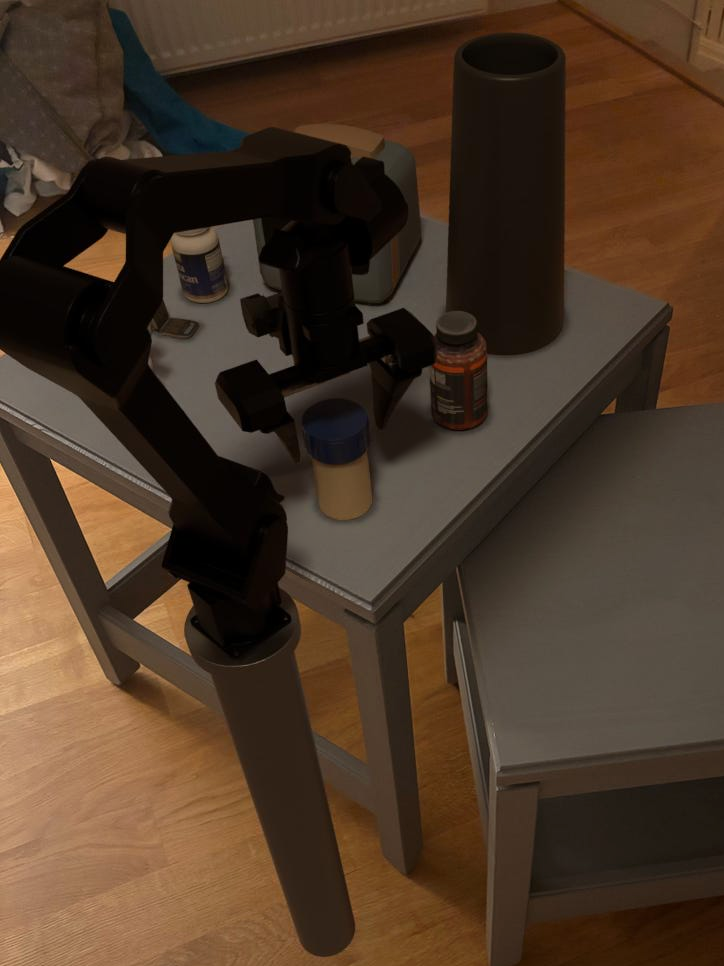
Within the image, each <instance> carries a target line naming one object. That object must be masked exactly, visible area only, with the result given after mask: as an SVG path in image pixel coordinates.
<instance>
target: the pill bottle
mask: <svg viewBox="0 0 724 966" xmlns="http://www.w3.org/2000/svg"><path fill="white" fill-rule="evenodd" d="M170 246H171V250H172V255H173V258H174V262H175V266H176V270H177V274H178V278H179V281H180V286H181V290H182V293H183V295H184V297H185V298H186V299H188V300H189V301H191V302H194V303H199V304H209V303H213V302H216V301H218V300H220V299H222V298H223V297H225V296H226V295H227V293H228V291H229V281H228V276H227V272H226V267H225V261H224V257H223V252H222V247H221V243H220V239H219V235H218V232H217V231H216V229H215V228H214V227H207V228H201V229H195V230H190V231H184V232H178V233H174V234H173V236H172V237H171V239H170Z"/></svg>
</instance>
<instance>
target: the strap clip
mask: <svg viewBox="0 0 724 966" xmlns="http://www.w3.org/2000/svg"><path fill="white" fill-rule="evenodd" d="M169 317H170V314H169V312H168V308H167V306H166V303H165V300H164V298H163V299H162V303H161V305H160V306H159V308H158V310H157V312H156V314H155V315H154V317H153V319H152V321H151V322H150V326H151V332H153V331H155V330H158V331H159V332H160V333H161V334H162V336H167V337H171V338H178V339H187V338H190V337H192V336H193V334H194V333H195V331H197V328H199V325H200V324H199V322H197V321H196V320H191V319H184V318H177V317H170V318H169ZM188 326H192V327H191V328H190V330H189V332H188V333H184V332H185V331H186V329H187V327H188Z"/></svg>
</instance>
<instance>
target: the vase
mask: <svg viewBox="0 0 724 966" xmlns="http://www.w3.org/2000/svg"><path fill="white" fill-rule="evenodd" d="M566 59H567V57H566V53H565V51H564V50H563V49H562V47H560V46H559V45H558V44H557V43H555V42H554V41H552V40H551V39H548V38H545V37H542V36H540V35H535V34H531V33H524V32H511V31H510V32H495V33H487V34H482V35H479V36H476V37H473V38H470V39H468V40H466V41H465V42H464V43H462V44H461V45H460V46H459V47H457V49H456V51H455V53H454V57H453V71H452V78H453V79H452V100H451V101H452V104H451V105H452V108H451V136H450V161H449V162H450V165H449V166H450V169H449V195H448V198H449V199H448V200H449V201H448V225H447V226H448V228H447V231H448V232H447V256H446V257H447V261H446V265H447V266H446V288H445V289H446V290H445V291H446V294H445V295H446V296H445V303H446V304H445V313H448V312H451V311H463V312H467V313H469V314H471V315H473V316H474V318H475V319H476V321H477V332H478V333H479V334H481V335H482V336H483V338H484V340H485V342H486V345H487V354H491V355H498V356H499V355H501V356H511V355H521V354H526V353H530V352H534V351H537V350H539V349H541V348H543V347H545V346H547V345H549V344H550V343H551V342H553V341H555V339H556V338H557V337H558V336H559V335H560V333H561V331H563V330H562V329H563V327H564V322H565V321H564V320H565V264H566V263H565V262H566V261H565V260H566V259H565V252H566V249H565V248H566V247H565V243H566V237H565V235H566V234H565V233H566V226H565V225H566V204H565V203H566V126H567V125H566V117H567V116H566V115H567V114H566V113H567V111H566V104H567V102H566V101H567V100H566V96H567V95H566V94H567V93H566V91H567V84H566V82H567V81H566V80H567V69H566V65H567V64H566V63H567V62H566V61H567V60H566Z"/></svg>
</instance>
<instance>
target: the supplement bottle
mask: <svg viewBox="0 0 724 966" xmlns="http://www.w3.org/2000/svg"><path fill="white" fill-rule="evenodd" d="M435 326H436V328H435V329H436V330H435V331H436V332H435V334H433V336H434V338H435V341H436V344H437V360H436V362H435V364H433V365H430V366H428V372H429V373H428V374H429V389H430V393H429V394H430V407H431V416H432V417H433V419H434V421H435V422H436V423H437V424H438V425H440V426H441V427H443V428H446V429H449V430H453V431H454V430H456V431H464V430H469V429H472V428H475V427H477V426H479V425H480V424H481V423H482V422H483V421H484V420H485V419H486V417H487V414H488V406H489V405H488V402H489V400H488V397H489V396H488V395H489V394H488V353H487V345H486V342H485V340H484V338H483V336H482V335H481V334H479V333H478V332H477V321H476V319H475V318H474V316H473V315H471V314H469V313H467V312H463V311H451V312H448V313H446V312H445V313H443V314H441V315H440V316H439V317H438V318H437V319H436V322H435Z"/></svg>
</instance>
